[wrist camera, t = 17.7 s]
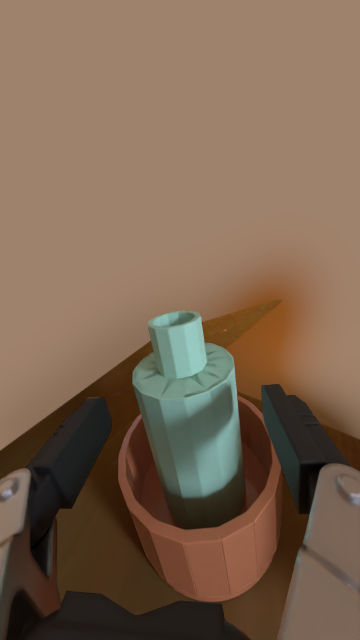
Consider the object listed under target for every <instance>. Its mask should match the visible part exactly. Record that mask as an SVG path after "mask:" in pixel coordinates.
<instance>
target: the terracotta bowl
mask: <svg viewBox="0 0 360 640" xmlns="http://www.w3.org/2000/svg"><path fill="white" fill-rule="evenodd" d="M237 401H238V412H239V423H240V434H241V445H242V456H243V467H244V478H245V489H246V494H245V503H244V507H243V510H242V513H241V515H240V516H238V517H236V518H234V519H232V520H230V521H228V522H227V523H225V524H223V525H221V526H219V527H214V528H202V529H189V530H184V529H182V528H181V527H180V526H179V525H178V524H177V522H176V521H175V520H174V518H173V517H172V515H171V513H170V510H169V508H168V506H167V504H166V500H165V497H164V493H163V490H162V486H161V483H160V479H159V475H158V472H157V468H156V465H155V461H154V458H153V454H152V451H151V447H150V444H149V440H148V437H147V433H146V429H145V426H144V422H143V419H142V415H141V414H140V415H139V416H138V417H137V418H136V419H135V421H134V422H133V424H132V425H131V427H130V428H129V430H128V431H127V433H126V435H125V437H124V440H123V443H122V446H121V450H120V453H119V457H118V482H119V485H120V488H121V491H122V494H123V496H124V499H125V502H126V504H127V507H128V510H129V512H130V515H131V518H132V520H133V523H134V525H135V528H136V531H137V533H138V536H139V539H140V541H141V544H142V547H143V549H144V552H145V555H146V557H147V559H148V560H149V562H150V563H151V565H152V566H153V568H154V570H155V571H156V572H157V574H158V575H159V576H160V577H161V578H162V579H163V580H164V582H166V583H167V584H168V585H169V586H170V587H172V588H173V589H174V590H175V591H177V592H179V593H181V594H183V595H184V596H186V597H189V598H192V599H195V600H198V601H206V602H217V601H226V600H229V599H231V598H234V597H237V596H239V595H241V594H242V593H244V592H246V591H247V590H249V589H250V588H251V587H252V586H253V585H254V584H256V583H257V582H258V581H259V580H260V579H261V577H262V576H263V574H264V573H265V572H266V570H267V569H268V567H269V565H270V563H271V561H272V559H273V557H274V555H275V552H276V549H277V546H278V542H279V537H280V531H281V521H282V468H281V465H280V463H279V460H278V458H277V455H276V452H275V450H274V447H273V444H272V442H271V439H270V436H269V434H268V431H267V429H266V426H265V423H264V418H263V413H262V412H261V411H260V410H259V409H258V408H257V407H256V406H255V405H254V404H252V403H251V402H250V401H248V400H246V399H244V398H243V397H241V396H239V395H238V394H237Z"/></svg>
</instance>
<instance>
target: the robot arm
mask: <svg viewBox="0 0 360 640" xmlns="http://www.w3.org/2000/svg"><path fill="white" fill-rule="evenodd" d="M261 389H262V390H261V392H262V412H263V418H264V423H265V426H266V429H267V431H268V434H269V436H270V439H271V442H272V444H273V447H274V450H275V452H276V455H277V458H278V460H279V463H280V465H281V468H282V471H283V473H284V476H285V479H286V481H287V484H288V487H289V489H290V492H291V494H292V497H293V500H294V502H295V505H296V508H297V510H298V513H299V514H309V515H310V516H309V520H308V525H307V529H306V533H305V537H304V541H303V544H302V545H301V546H300V548H299V551H298V555H297V558H296V562H295V566H294V571H293V575H292V579H291V583H290V587H289V591H288V595H287V600H286V604H285V608H284V612H283V616H282V620H281V624H280V628H279V633H278V637H277V640H360V472H359V471H358V470H356V469H354V468H352V467H351V466H350V465H349V464H348V463H347V461H346V460H345V458H344V457H343V456H342V454H341V453H340V451H339V450H338V448H337V447H336V446H335V444H334V443H333V441H332V440H331V439H330V437H329V436H328V434H327V433H326V431H325V430H324V429H323V427H322V426H321V425H320V424H319V422H318V420H317V419H316V417H315V416H313V413H312V412H311V410H310V409H309V407H308V406H307V405H306V403H305V402H303V401H302V400H300V399H299V398H298V397H296V396H295V395H289V396H286V394H285V392H284V391H283V389H282V388H281V386H280V385H279V384H273V385H262V387H261ZM111 428H112V420H111V417H110V414H109V411H108V408H107V405H106V402H105V399H104V398H103V397H92V398H87V399H86V400H85V401H84V402H83V403H82V404H81V406H80V407H79V408H78V409H76V410H75V411H74V412H73V413H71V414H70V415H69V416H68V417H67V418H66V419H65V420H64V421H63V423H62V424H61V425H60V427H59V428H58V429H57V430H56V431H55V432H54V433H53V436H51V437H50V438H49V440H48V441H47V442H46V443H45V444H44V446H43V447H42V448H41V449H40V451H39V452H38V453H37V454H36V455H35V457H34V458H33V459H32V460H31V462H30V463H29V464H28V465H27V466H26V468H25V469H19V470H16V471H14V472H12V473H10V474H8V475H7V476H5V477H4V478H2V479H1V480H0V640H250V639H249V638H248V637H247V635H246V634H244V633H243V632H242V631H241V630H239V629H238V628H237V627H236V626H234V625H233V624H231V623H229V622H227V621H226V620H225V619H224V614H223V609H222V604H214V603H202V602H190V601H178V602H175V603H172V604H169V605H166V606H164V607H161V608H158V609H155V610H153V611H150V612H147V613H144V614H142V615H133V614H131V613H130V612H128V611H127V610H125V609H124V608H122V607H121V606H119V605H118V604H116V603H115V602H113V601H111V600H110V599H108V598H107V597H105V596H104V595H102V594H97V593H85V592H73V591H66V594H65V597H64V599H63V602H62V604H61V601H60V596H59V593H58V589H57V580H56V572H57V519H56V517H55V516H56V514H57V512H58V511H59V509H60V508H63V509H72V507H73V505H74V503H75V501H76V499H77V497H78V495H79V493H80V491H81V489H82V487H83V485H84V483H85V481H86V479H87V477H88V475H89V473H90V471H91V469H92V467H93V465H94V463H95V462H96V460H97V458H98V456H99V454H100V452H101V450H102V448H103V446H104V444H105V442H106V440H107V438H108V436H109V434H110V432H111Z"/></svg>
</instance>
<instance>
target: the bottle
mask: <svg viewBox="0 0 360 640" xmlns="http://www.w3.org/2000/svg"><path fill="white" fill-rule="evenodd" d="M148 329H149V333H150V338H151V342H152V346H153V351H154V352H153V353H151V354H149V355H148V356H147V357H145V358H144V359H143V360H141V361H140V362H139V364H138V365H137V366H136V368H135V369H134V371H133V379H132V384H133V387H134V391H135V394H136V398H137V401H138V405H139V408H140V412H141V415H142V419H143V422H144V426H145V429H146V433H147V437H148V440H149V444H150V447H151V451H152V454H153V458H154V461H155V465H156V468H157V472H158V475H159V479H160V483H161V486H162V490H163V493H164V497H165V500H166V504H167V506H168V508H169V510H170V513H171V515H172V517H173V518H174V520H175V521H176V522H177V524H178V525H179V526H180V527H181V528H182V529H184V530H189V529H202V528H214V527H219V526H221V525H223V524H225V523H227V522H228V521H230V520H232V519H234V518H236V517H238V516H240V515H241V513H242V510H243V507H244V503H245V494H246V489H245V478H244V467H243V456H242V445H241V434H240V423H239V412H238V401H237V390H236V379H235V368H234V362H233V356H232V355H231V354H230V353H229V352H228V351H226V350H225V349H224V348H222V347H220V346H217V345H214V344H211V343H204V337H203V330H202V323H201V316H200V315H199V313H198V312H194V311H176V312H171V313H166V314H163V315H160V316H157V317H155V318H153V319H152V320H150V321H149V323H148Z"/></svg>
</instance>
